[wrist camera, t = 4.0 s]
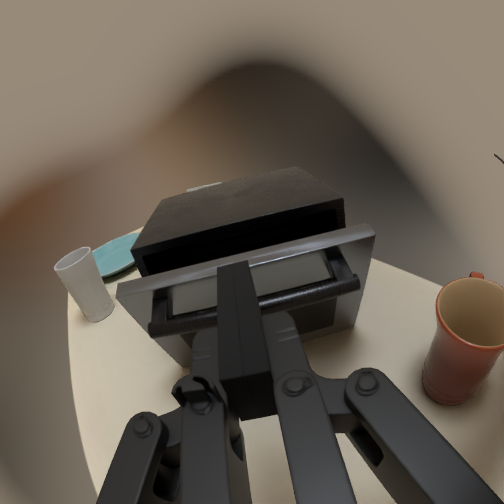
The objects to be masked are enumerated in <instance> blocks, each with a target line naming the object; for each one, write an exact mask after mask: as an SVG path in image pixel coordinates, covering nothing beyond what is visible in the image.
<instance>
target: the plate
mask: <svg viewBox="0 0 504 504" xmlns="http://www.w3.org/2000/svg"><path fill="white" fill-rule="evenodd" d="M139 234H140V233H132V234H128V235H124V236H122V237H119V238H117V239H114V240H112V241H110V242H108V243H106V244H104V245H103V246H101V247H99V248H98V249H96V250H95V251H93V252H92V254H93V257H94V259H95V262H96V265H97V267H98V270H99V272H100V275H101V277H102V278H104V277H109V276H113V275H116V274H118V273H120V272H123V271H124V270H126V269H128V268H130V267H131V266H132V265H134V264H135V261H134V258H133V256H132V254H131V252H130V249H131V248H132V246H133V244H134V243H135V241H136V239H137V238H138V236H139Z"/></svg>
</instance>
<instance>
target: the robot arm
mask: <svg viewBox="0 0 504 504" xmlns="http://www.w3.org/2000/svg"><path fill="white" fill-rule="evenodd" d="M494 155H495V154H494ZM495 156H496V157H497V158H498V159H499V160H501V161H502V163H503V164H504V161H503V160H502V159H500V158H499V157H498V156H497V155H495ZM171 394H172V395H173V396H174V398H175V399H176V400H177V401H178V403H179V404H180V405H181V406H180V407H179V408H178V409H176V410H174V411H171V412H169V413H166V414H164V415H161V416H157V415H156V414H154V413H151V412H141V413H138V414H136V415H135V416H133V417H132V418H131V419H130V420H129V422H128V423H127V425H126V428H125V430H124V433H123V435H122V437H121V440H120V442H119V445H118V447H117V450H116V452H115V455H114V457H113V460H112V462H111V465H110V467H109V470H108V473H107V475H106V478H105V481H104V483H103V486H102V489H101V491H100V494H99V497H98V500H97V502H96V504H252V499H251V492H250V484H249V477H248V469H247V461H246V453H245V445H244V437H243V433H242V430H241V428H240V426H239V418H240V420H241V421H245V420H251V419H256V418H262V417H267V416H271V415H276V414H278V417H279V421H280V426H281V431H282V436H283V441H284V446H285V451H286V456H287V460H288V465H289V470H290V475H291V480H292V484H293V489H294V494H295V499H296V503H297V504H357V501H356V498H355V495H354V492H353V488H352V485H351V482H350V479H349V476H348V473H347V469H346V466H345V463H344V460H343V457H342V454H341V451H340V448H339V445H338V441H337V438H336V435H335V433H345V434H346V436H347V437H348V439H349V440H350V441H351V443H352V444H353V445H354V447H355V448H356V450H357V451H358V452H359V454H360V455H361V456H362V458H363V459H364V461H365V462H366V463H367V465H368V466H369V467H370V469H371V470H372V471H373V473H374V474H375V475H376V477H377V478H378V479H379V481H380V482H381V483H382V485H383V486H384V487H385V489H386V490H387V491H388V493H389V494H390V495H391V497H392V498H393V499H394V500H395V502H396V503H397V504H504V503H503V501H502V500H501V499H500V498H499V497H498V496H497V495H496V494H495V493H494V491H493V490H492V489H491V488H490V487H489V486H488V485H487V484H486V483H485V481H484V480H483V479H482V478H481V477H480V476H479V475H478V474H477V473H476V472H475V470H474V469H473V468H472V467H471V466H470V465H469V464H468V463H467V462H466V461H465V459H464V458H463V457H462V456H461V455H460V454H459V453H458V452H457V451H456V450H455V449H454V448H453V446H452V445H451V444H450V443H449V442H448V441H447V440H446V439H445V438H444V437H443V436H442V435H441V434H440V432H439V431H438V430H437V429H436V428H435V427H434V426H433V425H432V424H431V423H430V422H429V421H428V420H427V419H426V417H425V416H424V415H423V414H422V413H421V412H420V411H419V410H418V409H417V408H416V407H415V406H414V405H413V404H412V403H411V401H410V400H409V399H408V398H407V397H406V396H405V395H404V394H403V393H402V392H401V391H400V390H399V389H398V388H397V387H396V386H395V385H394V384H393V382H392V381H391V380H390V379H389V378H388V377H387V376H386V375H385V374H384V373H382V372H381V371H379V370H378V369H374V368H361V369H359V370H356V371H354V372H353V373H352V374H351V375H349V376H348V378H345V379H329V378H324V377H321V376H319V375H317V374H316V373H315V372H314V371H313V370H312V369H311V367H310V365H309V362H308V360H307V357H306V354H305V351H304V348H303V345H302V342H301V339H300V337H299V334H298V331H297V328H296V325H295V322H294V319H293V317H292V316H290V315H289V314H288V313H287V312H286V311H281V312H277V313H273V314H269V315H265V316H261V311H260V307H259V302H258V298H257V294H256V290H255V287H254V283H253V279H252V275H251V271H250V267H249V263H248V260H245V261H241V262H236V263H232V264H228V265H224V266H220V267H217V327H214V328H209V329H204V330H199V331H198V332H197V334H196V336H195V337H194V339H193V344H192V361H191V374H189V375H186V376H184V377H183V378H181V379H180V380H178V381H177V383H176V384H175V385H174V386H173V389H172V392H171Z"/></svg>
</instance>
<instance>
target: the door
mask: <svg viewBox="0 0 504 504" xmlns="http://www.w3.org/2000/svg"><path fill="white" fill-rule="evenodd" d="M375 236H376V234H375V233H374V231H373V230H372V228H371V227H370V226H369V224H368V223H364V224H360V225H356V226H351V227H347V228H343V229H339V230H335V231H331V232H327V233H323V234H318V235H314V236H310V237H306V238H302V239H298V240H294V241H290V242H285V243H281V244H277V245H273V246H269V247H265V248H261V249H257V250H253V251H249V252H244V253H240V254H236V255H232V256H228V257H224V258H220V259H216V260H212V261H208V262H203V263H199V264H195V265H191V266H187V267H183V268H179V269H175V270H171V271H167V272H163V273H159V274H154V275H150V276H146V277H142V278H138V279H134V280H130V281H126V282H122V283H118V286H117V291H116V299H117V300H118V301H119V302H120V304H121V305H122V306H123V307H124V308H125V309H126V310H127V312H128V313H129V314H130V315H131V316H132V317H133V318H134V319H135V320H136V321H137V323H138V324H139V325H140V326H141V327H142V328H143V329H144V330H145V331H146V332H147V333H148V334H149V336H150V337H151V338H152V339H154V340H155V341H156V342H157V343H158V344H159V345H160V346H161V347H162V348H163V349H164V350H165V351H166V352H167V353H168V354H169V355H170V356H171V357H172V358H173V359H174V360H175V361H176V362H177V363H178V364H179V365H180V366H181V367H188V366H191V361H192V344H193V339H194V337H195V336H196V334H197V332H198V331H199V330H204V329H209V328H214V327H217V267H220V266H224V265H228V264H232V263H236V262H241V261H245V260H248V263H249V267H250V271H251V275H252V279H253V283H254V287H255V290H256V294H257V298H258V302H259V307H260V311H261V316H265V315H269V314H273V313H277V312H281V311H286V312H287V313H288V314H289V315H290V316H292V317H293V319H294V322H295V325H296V328H297V331H298V334H299V337H300V339H301V342H305V341H308V340H312V339H316V338H319V337H322V336H326V335H329V334H333V333H336V332H339V331H342V330H346V329H349V328H352V327H354V324H355V321H356V317H357V314H358V310H359V307H360V303H361V299H362V295H363V291H364V287H365V283H366V279H367V275H368V270H369V266H370V261H371V256H372V252H373V246H374V242H375Z"/></svg>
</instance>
